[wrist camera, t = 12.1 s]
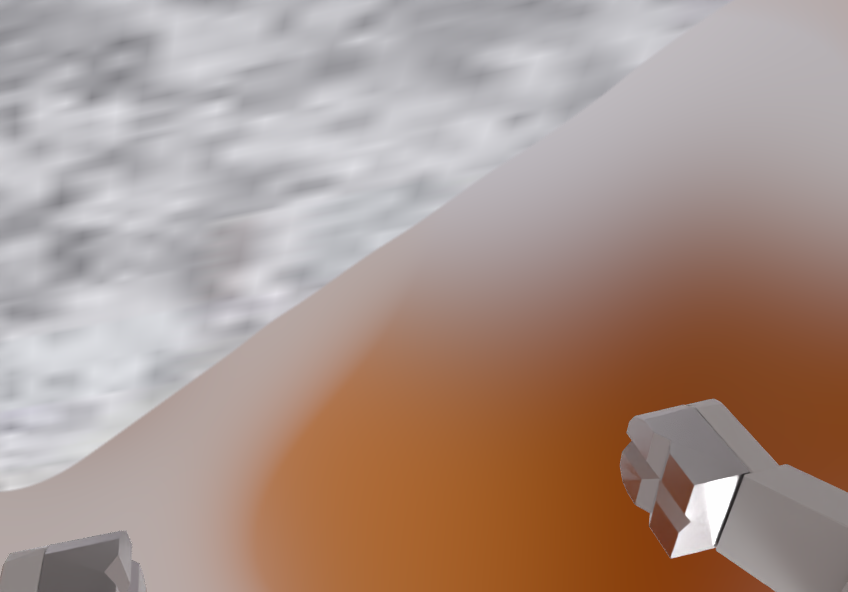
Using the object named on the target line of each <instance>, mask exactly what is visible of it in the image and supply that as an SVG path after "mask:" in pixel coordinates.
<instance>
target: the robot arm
mask: <svg viewBox="0 0 848 592" xmlns="http://www.w3.org/2000/svg"><path fill="white" fill-rule="evenodd" d="M627 434H628V435H629V436H630V438H631V440H632V441H631V442H630V444H629V445H628V446H627V447H626V448H625V449H624V450H623V451H622V457H621V462H620V468H621V474H622V480H623V483H624V485H625V488H626V490H627V493H628V494H629V496H630V497H631V499H632V500H633V502H634V504H635V505H637V506H638V507H640V508H642V509H644V510H646V511H647V512H649V513H650V522H649V527H650V528H651V530H652V531H653V533H654V534H655V536H656V537H657V539H658V540H659V542H660V543H661V545H662V546H663V548H664V549H665V551H666V552H667V554H668V555H669V557H670V558H675V557H679V556H683V555H686V554H691V553H695V552H699V551H703V550H707V549H711V548H716V547H717V548H716V551H718V552H719V553H721V554H722V555H723V556H725V557H726V558H728V559H729V560H731V561H732V562H734V563H736V564H737V565H738V566H740V567H741V568H742V569H744V570H745V571H747V572H748V573H750V574H751V575H752V576H754V577H755V578H757V579H758V580H760V581H761V582H763V583H764V584H766V585H767V586H769V587H770V588H771V589H773V590H774V591H776V592H848V493H847V492H845V491H843V490H841V489H839V488H837V487H835V486H832V485H830V484H828V483H826V482H824V481H822V480H819V479H817V478H815V477H813V476H811V475H809V474H807V473H804V472H802V471H800V470H798V469H795V468H794V467H792V466H789V465H787V464H786V465H781V466H779V465H778V464H777V463H776V462H775V461H774V460H773V459H772V457H771V456H770V455H769V454H768V453H767V452H766V451H765V450H764V449H763V448H762V446H761V445H760V444H759V443H758V442H757V441H756V440H755V439H754V438H753V437H752V436H751V434H750V433H749V432H748V431H747V430H746V429H745V428H744V427H743V426H742V425H741V424H740V423H739V422H738V420H737V419H736V418H735V417H734V416H733V415H732V414H731V413H730V411H729V410H728V409H727V408H726V407H725V406H724V405H723V404H722V403H721V402H719V401H717V400H715V399H710V400H705V401H701V402H696V403H692V404H688V405H681V406H676V407H672V408H668V409H664V410H659V411H655V412H651V413H647V414H642V415H638V416H634V417H633V419H632V420H631V421H630V422H629V426H628V430H627ZM131 559H132V543H131V541H130V538H129V536H128V534H127V532H126V531H118V532H114V533H108V534H103V535H98V536H93V537H87V538H83V539H77V540H72V541H67V542H62V543H57V544H52V545H48V546H43V547H38V548H34V549H29V550H24V551H19V552H15V553H10V554H9V556H8V558H7V559H6V561H5V563H4V564H3V567H2V572H1V576H0V592H147V590H146V584H145V580H144V575H143V572H142V569H141V566H140V564H139V563H137V562H135V561H133V560H131Z"/></svg>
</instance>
